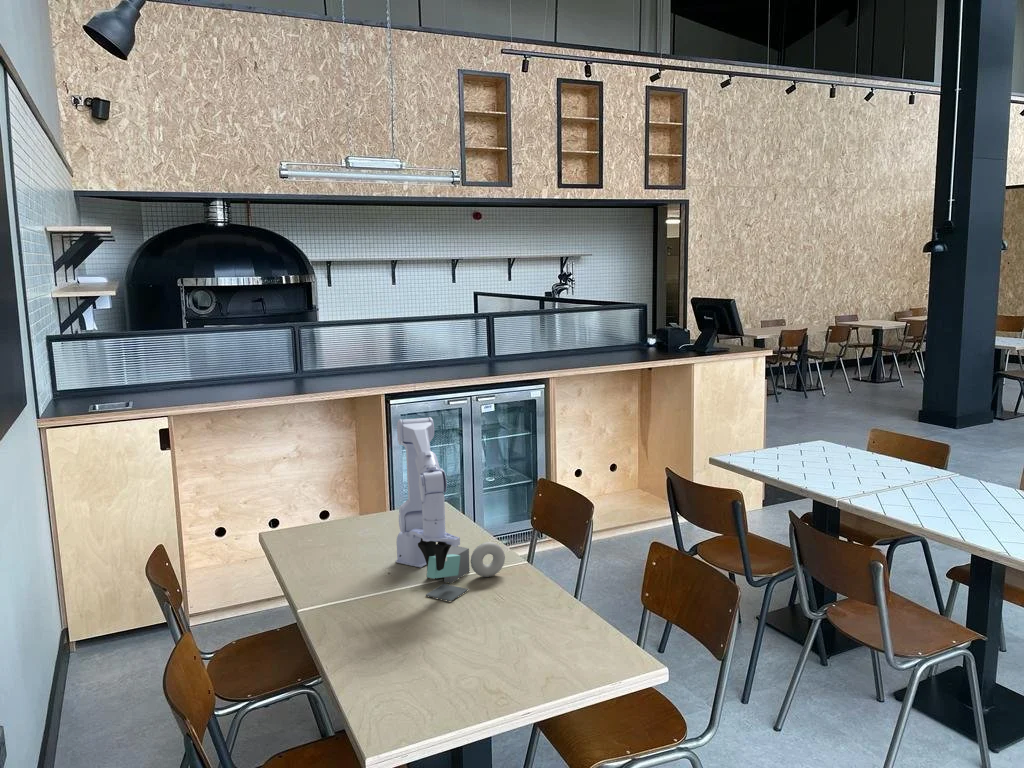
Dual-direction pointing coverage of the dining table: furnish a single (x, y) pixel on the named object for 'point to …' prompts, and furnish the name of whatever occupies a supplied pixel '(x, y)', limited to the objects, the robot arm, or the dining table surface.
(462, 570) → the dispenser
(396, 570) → the dining table surface
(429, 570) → the tall teal prism
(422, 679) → the dining table surface
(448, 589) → the coaster
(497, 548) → the donut
